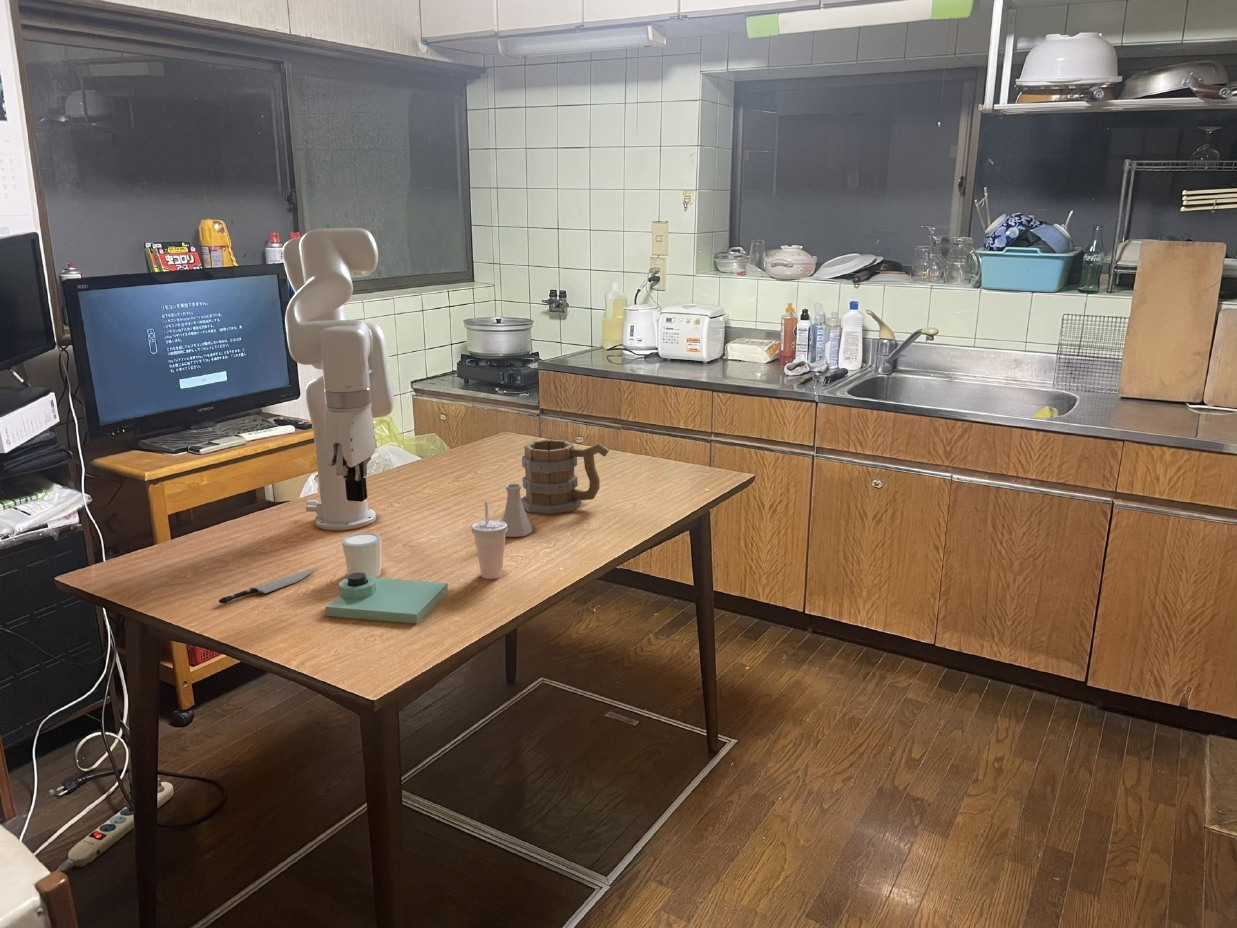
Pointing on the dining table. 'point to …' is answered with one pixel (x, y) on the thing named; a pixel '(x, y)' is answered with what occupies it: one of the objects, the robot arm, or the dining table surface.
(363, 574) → the button
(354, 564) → the white tapered cup
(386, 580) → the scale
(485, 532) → the smoothie
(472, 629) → the dining table surface
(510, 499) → the flask
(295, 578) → the chef's knife
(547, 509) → the tankard
